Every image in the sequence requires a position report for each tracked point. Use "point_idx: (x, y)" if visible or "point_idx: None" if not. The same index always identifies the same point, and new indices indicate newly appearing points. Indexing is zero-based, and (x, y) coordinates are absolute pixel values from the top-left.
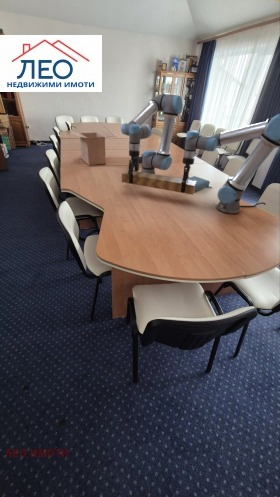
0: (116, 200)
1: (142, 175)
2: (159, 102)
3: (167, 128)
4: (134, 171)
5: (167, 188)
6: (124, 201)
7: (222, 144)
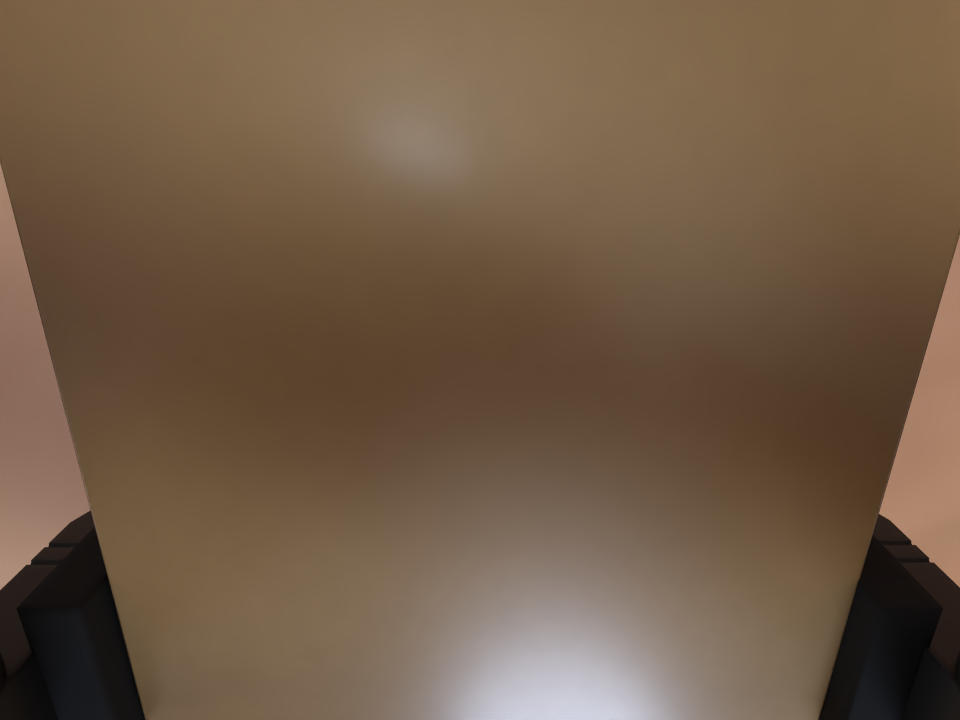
0: (921, 465)
1: (714, 31)
2: None
3: None
4: (221, 692)
5: None
6: (935, 329)
7: None
